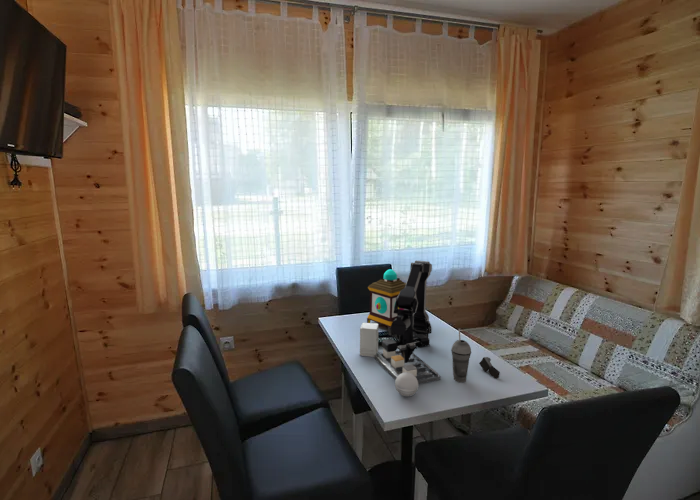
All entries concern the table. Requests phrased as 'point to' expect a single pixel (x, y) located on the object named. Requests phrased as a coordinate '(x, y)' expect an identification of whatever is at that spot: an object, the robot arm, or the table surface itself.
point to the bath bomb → (406, 384)
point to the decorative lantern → (384, 298)
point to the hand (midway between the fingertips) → (405, 362)
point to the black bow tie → (489, 367)
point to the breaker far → (388, 353)
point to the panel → (423, 369)
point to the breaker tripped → (397, 361)
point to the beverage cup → (460, 359)
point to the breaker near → (410, 369)
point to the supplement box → (368, 339)
